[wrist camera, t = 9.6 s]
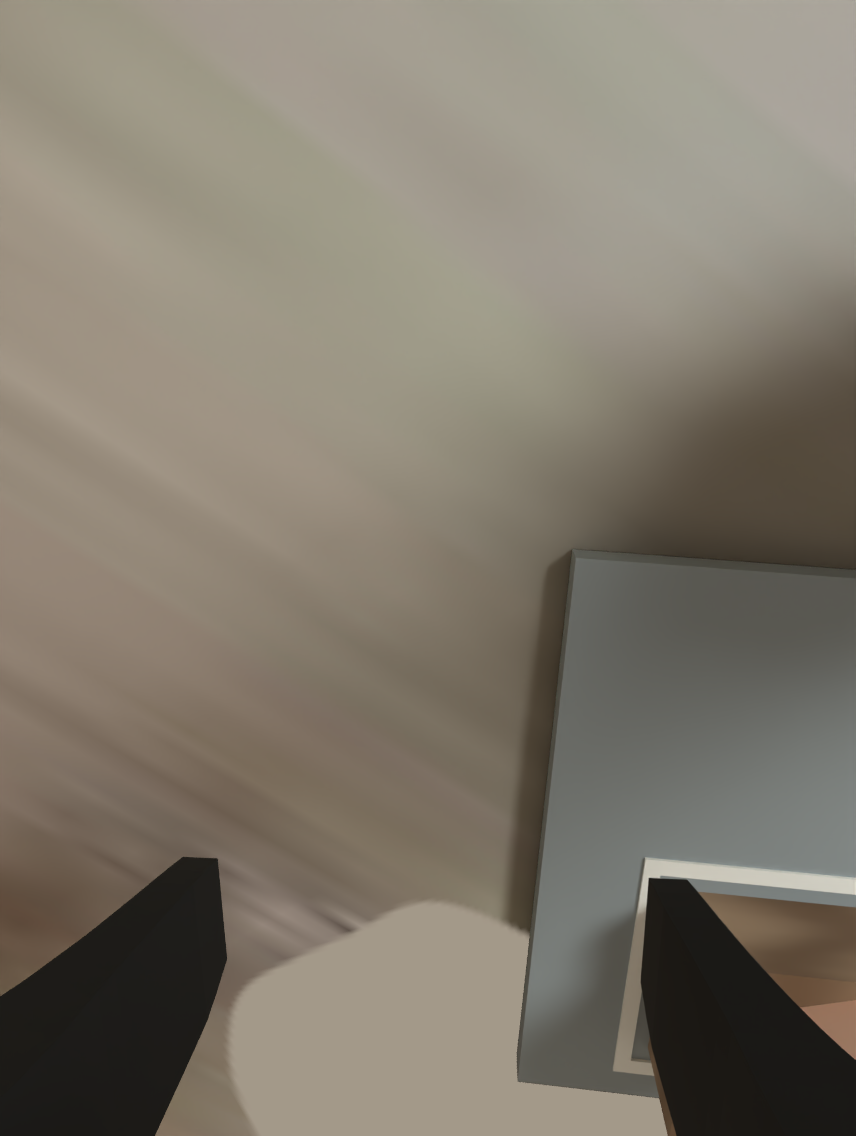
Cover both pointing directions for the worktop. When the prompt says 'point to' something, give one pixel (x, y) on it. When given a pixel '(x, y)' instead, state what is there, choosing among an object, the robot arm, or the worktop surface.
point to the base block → (789, 951)
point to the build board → (681, 781)
